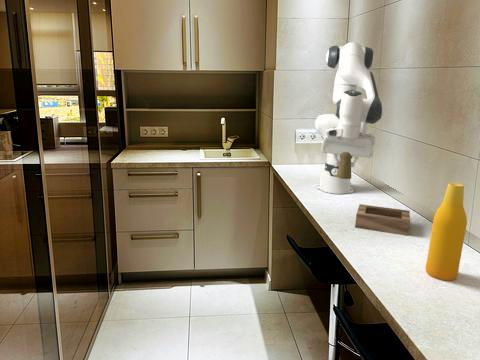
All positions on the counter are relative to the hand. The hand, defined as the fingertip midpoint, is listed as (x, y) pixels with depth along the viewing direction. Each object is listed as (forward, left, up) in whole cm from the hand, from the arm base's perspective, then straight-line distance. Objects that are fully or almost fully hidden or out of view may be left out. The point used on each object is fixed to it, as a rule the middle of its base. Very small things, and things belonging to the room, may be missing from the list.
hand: (345, 165), depth 180 cm
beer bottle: (+40, +36, -23) cm, 59 cm away
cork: (0, 0, -5) cm, 5 cm away
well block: (+1, +17, -23) cm, 28 cm away
